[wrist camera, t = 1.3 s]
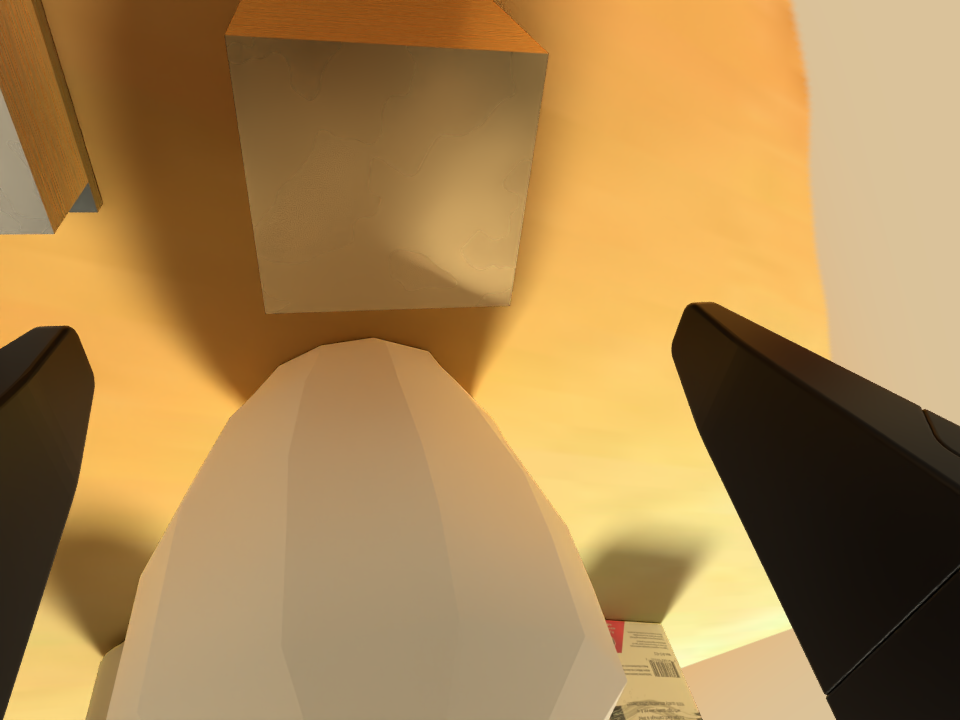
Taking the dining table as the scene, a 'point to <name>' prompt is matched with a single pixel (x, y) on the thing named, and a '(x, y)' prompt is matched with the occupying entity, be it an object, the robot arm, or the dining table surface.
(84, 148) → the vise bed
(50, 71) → the fixed jaw
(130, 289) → the dining table surface
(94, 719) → the beverage can
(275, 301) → the block
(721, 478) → the robot arm
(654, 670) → the ink box
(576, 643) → the vase
